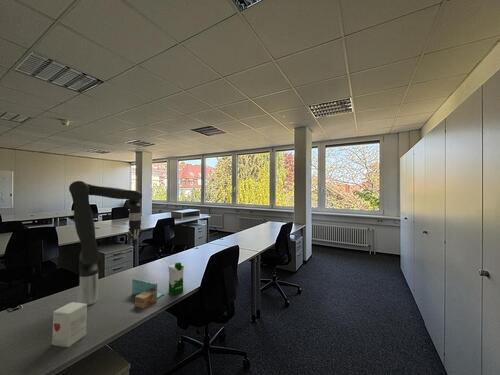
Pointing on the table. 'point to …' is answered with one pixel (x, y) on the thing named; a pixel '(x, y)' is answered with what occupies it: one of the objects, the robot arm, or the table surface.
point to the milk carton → (176, 278)
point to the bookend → (144, 287)
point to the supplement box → (69, 324)
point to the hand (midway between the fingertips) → (134, 244)
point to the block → (145, 298)
